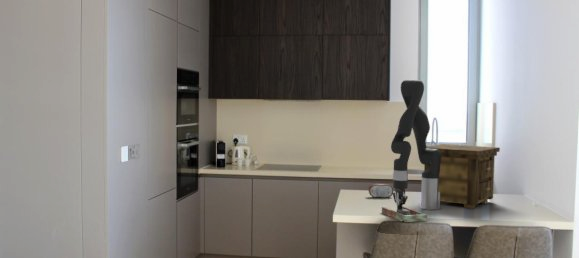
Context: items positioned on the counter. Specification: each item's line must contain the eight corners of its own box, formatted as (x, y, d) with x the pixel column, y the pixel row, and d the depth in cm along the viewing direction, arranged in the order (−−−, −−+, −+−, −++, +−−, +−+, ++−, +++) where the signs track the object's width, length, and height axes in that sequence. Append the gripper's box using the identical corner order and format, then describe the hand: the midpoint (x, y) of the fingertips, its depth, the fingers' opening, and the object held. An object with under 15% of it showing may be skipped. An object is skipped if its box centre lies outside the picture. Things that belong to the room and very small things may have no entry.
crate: (441, 195, 361) (443, 144, 360) (497, 202, 340) (499, 147, 339) (418, 203, 334) (419, 147, 332) (477, 210, 312) (479, 151, 311)
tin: (392, 197, 354) (392, 183, 353) (393, 198, 351) (393, 184, 350) (368, 197, 353) (368, 183, 353) (369, 197, 350) (369, 184, 350)
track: (403, 211, 306) (403, 206, 306) (427, 220, 283) (427, 214, 283) (381, 212, 303) (381, 207, 302) (403, 222, 280) (403, 216, 280)
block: (405, 215, 296) (405, 209, 296) (409, 217, 291) (410, 210, 291) (396, 216, 295) (396, 209, 295) (400, 218, 290) (401, 211, 290)
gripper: (413, 180, 291) (412, 214, 292) (400, 177, 304) (400, 209, 305) (399, 180, 289) (398, 214, 290) (388, 177, 302) (387, 210, 302)
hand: (399, 212), depth 297 cm, fingers closed
